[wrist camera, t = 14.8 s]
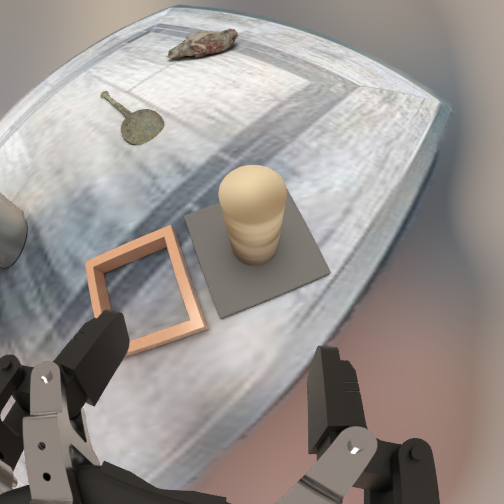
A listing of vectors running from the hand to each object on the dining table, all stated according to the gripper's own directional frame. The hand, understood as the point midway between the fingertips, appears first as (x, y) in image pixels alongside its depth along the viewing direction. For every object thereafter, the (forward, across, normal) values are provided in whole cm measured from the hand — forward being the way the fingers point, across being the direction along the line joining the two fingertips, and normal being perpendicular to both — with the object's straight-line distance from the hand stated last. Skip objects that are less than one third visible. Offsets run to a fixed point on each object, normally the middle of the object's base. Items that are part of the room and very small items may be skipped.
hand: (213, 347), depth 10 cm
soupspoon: (+35, +25, -11) cm, 45 cm away
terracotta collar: (+14, +11, +9) cm, 20 cm away
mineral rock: (+50, +17, -27) cm, 59 cm away
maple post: (+18, 0, +3) cm, 19 cm away
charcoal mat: (+19, 0, +4) cm, 19 cm away
